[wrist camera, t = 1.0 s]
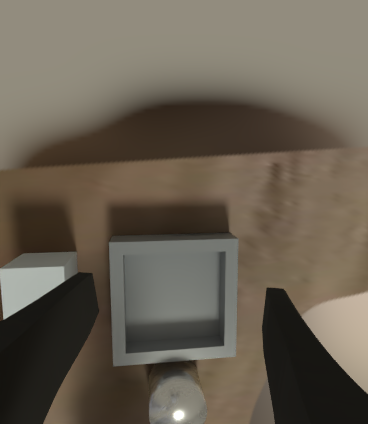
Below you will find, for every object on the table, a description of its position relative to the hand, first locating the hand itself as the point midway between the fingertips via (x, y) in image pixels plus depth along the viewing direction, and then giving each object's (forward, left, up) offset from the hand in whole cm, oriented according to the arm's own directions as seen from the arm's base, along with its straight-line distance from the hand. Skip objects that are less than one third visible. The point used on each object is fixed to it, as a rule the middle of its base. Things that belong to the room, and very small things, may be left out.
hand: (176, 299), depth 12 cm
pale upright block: (-6, +10, -19) cm, 22 cm away
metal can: (-17, -2, -19) cm, 25 cm away
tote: (-7, -2, -19) cm, 20 cm away
